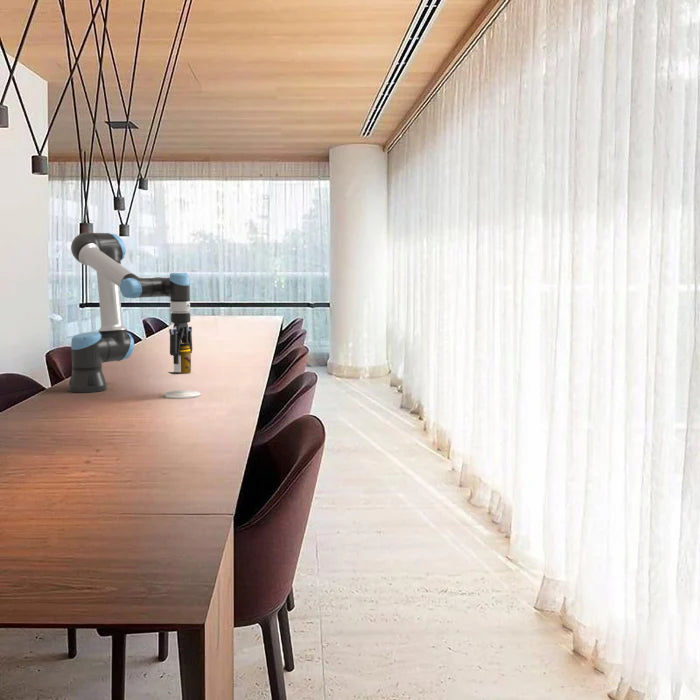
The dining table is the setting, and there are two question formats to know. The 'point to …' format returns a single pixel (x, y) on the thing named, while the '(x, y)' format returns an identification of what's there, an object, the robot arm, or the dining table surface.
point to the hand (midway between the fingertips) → (181, 370)
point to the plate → (182, 394)
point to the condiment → (184, 359)
